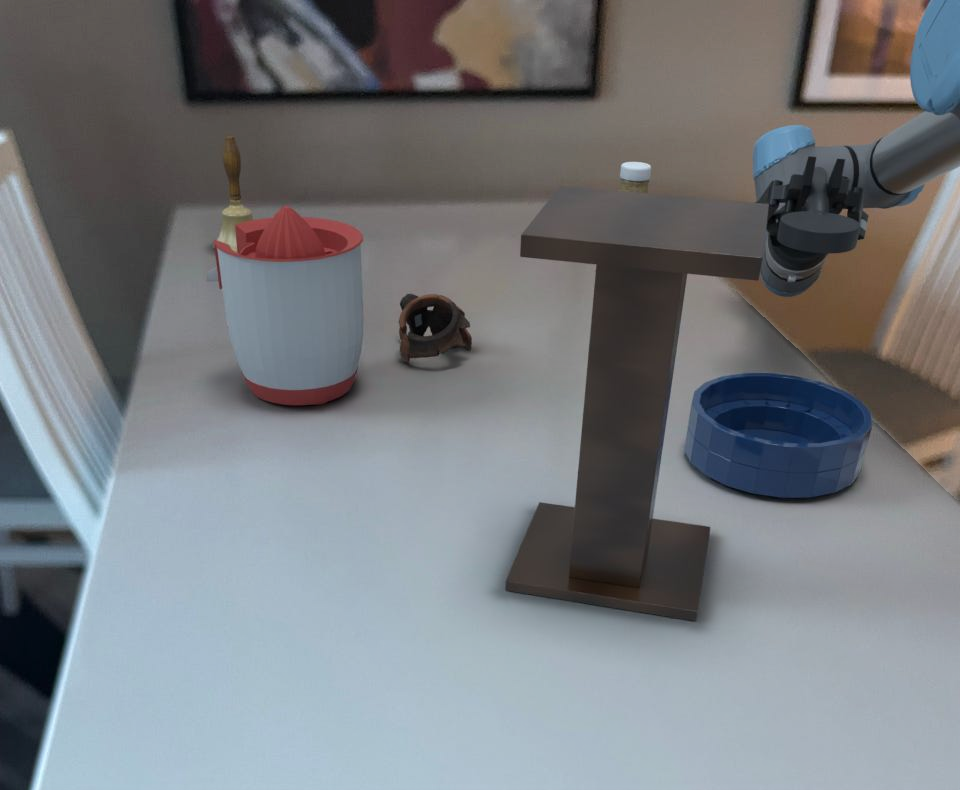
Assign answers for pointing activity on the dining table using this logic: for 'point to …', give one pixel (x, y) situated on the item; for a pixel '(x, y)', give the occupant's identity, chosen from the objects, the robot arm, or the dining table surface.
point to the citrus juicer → (294, 305)
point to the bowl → (777, 434)
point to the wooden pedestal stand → (630, 393)
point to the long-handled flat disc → (818, 223)
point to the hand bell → (232, 195)
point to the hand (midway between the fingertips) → (824, 172)
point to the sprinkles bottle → (635, 177)
